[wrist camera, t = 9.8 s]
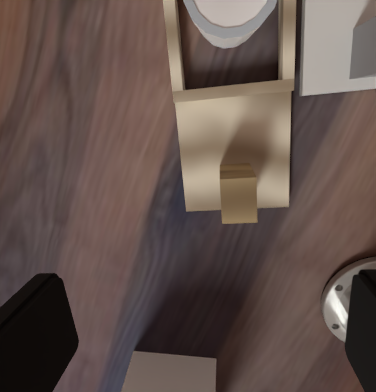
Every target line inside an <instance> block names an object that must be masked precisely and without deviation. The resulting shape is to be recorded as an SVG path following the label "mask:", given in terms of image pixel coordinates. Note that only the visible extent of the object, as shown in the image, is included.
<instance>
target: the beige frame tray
mask: <svg viewBox="0 0 376 392" xmlns="http://www.w3.org/2000/svg"><path fill="white" fill-rule="evenodd" d="M163 6H164V15H165V25H166V35H167V44H168V54H169V64H170V73H171V83H172V93H173V102H174V103H175V106H176V116H177V125H178V135H179V145H180V155H181V165H182V174H183V184H184V194H185V204H186V211H206V210H221V212H222V224H229V223H255V222H257V208H271V207H289V174H290V128H291V91H294V72H295V31H296V0H279V28H278V80H275V81H265V82H256V83H247V84H238V85H228V86H219V87H210V88H201V89H191V90H185V81H184V69H183V58H182V47H181V36H180V25H179V14H178V3H177V0H163Z"/></svg>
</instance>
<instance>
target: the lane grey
mask: <svg viewBox="0 0 376 392" xmlns="http://www.w3.org/2000/svg"><path fill="white" fill-rule="evenodd" d="M367 89H376V0H302V26H301V59H300V92H299V96H306V95H316V94H326V93H336V92H347V91H357V90H367Z"/></svg>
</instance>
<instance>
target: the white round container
mask: <svg viewBox="0 0 376 392" xmlns="http://www.w3.org/2000/svg"><path fill="white" fill-rule="evenodd" d="M183 1H184V4H185V6H186V8H187V10H188V12H189V15H190V17H191V19H192V21H193V22H194V23H195V25H196V26H197V28H198V29H199V30H200V32H201V33H202V35H203V36H204V37H205V38H206V39H207V40H208V41H209V42H210V43H211V44H212V45H215V46H218V47H221V48H232V47H236V46H238V45H240V44H241V43H243V42H245V41H246V40H247V39H248V38H249V37H250V36H251V35H252V34H253V33H254V32H255V31H256V30H257V29H258V28H259V27H260V26H261V24H262V23H263V22H264V21H265V19H266V18H267V17H268V15H269V14H270V13H271V12H272V10H273V9H274V8H275V5H276V2H277V0H183Z"/></svg>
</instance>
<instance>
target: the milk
mask: <svg viewBox="0 0 376 392" xmlns="http://www.w3.org/2000/svg"><path fill="white" fill-rule="evenodd" d="M121 392H216V358H205V357H194V356H183V355H172V354H161V353H150V352H139V351H133V354H132V357H131V361H130V364H129V367H128V371H127V374H126V377H125V381H124V384H123V387H122V391H121Z"/></svg>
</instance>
